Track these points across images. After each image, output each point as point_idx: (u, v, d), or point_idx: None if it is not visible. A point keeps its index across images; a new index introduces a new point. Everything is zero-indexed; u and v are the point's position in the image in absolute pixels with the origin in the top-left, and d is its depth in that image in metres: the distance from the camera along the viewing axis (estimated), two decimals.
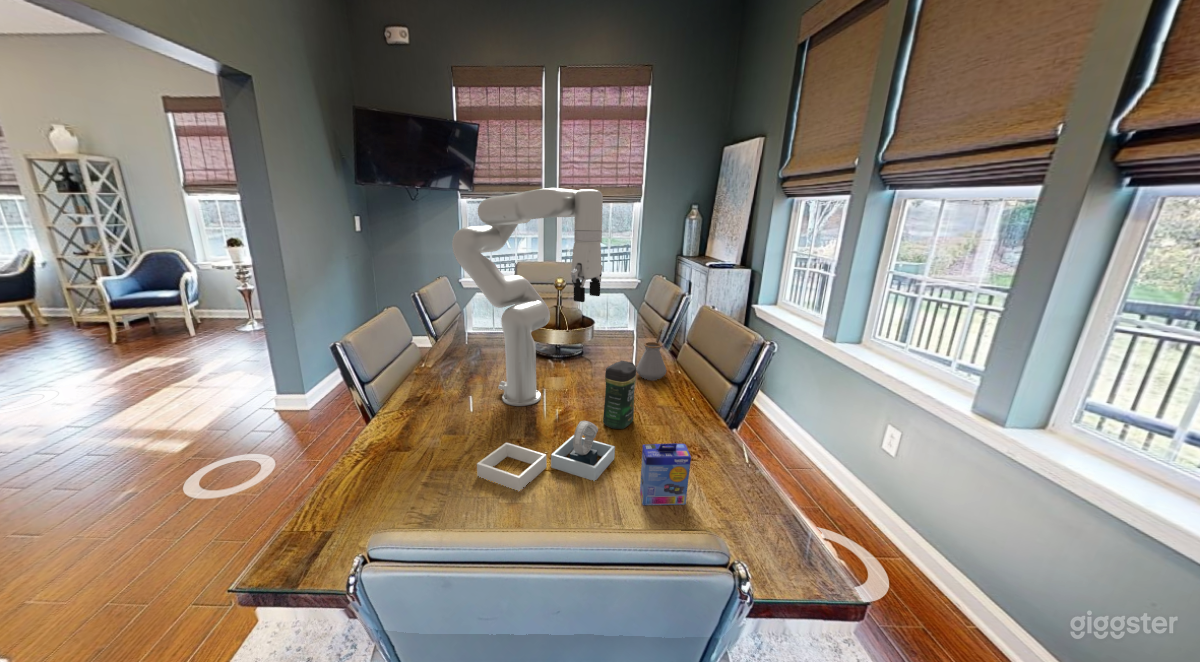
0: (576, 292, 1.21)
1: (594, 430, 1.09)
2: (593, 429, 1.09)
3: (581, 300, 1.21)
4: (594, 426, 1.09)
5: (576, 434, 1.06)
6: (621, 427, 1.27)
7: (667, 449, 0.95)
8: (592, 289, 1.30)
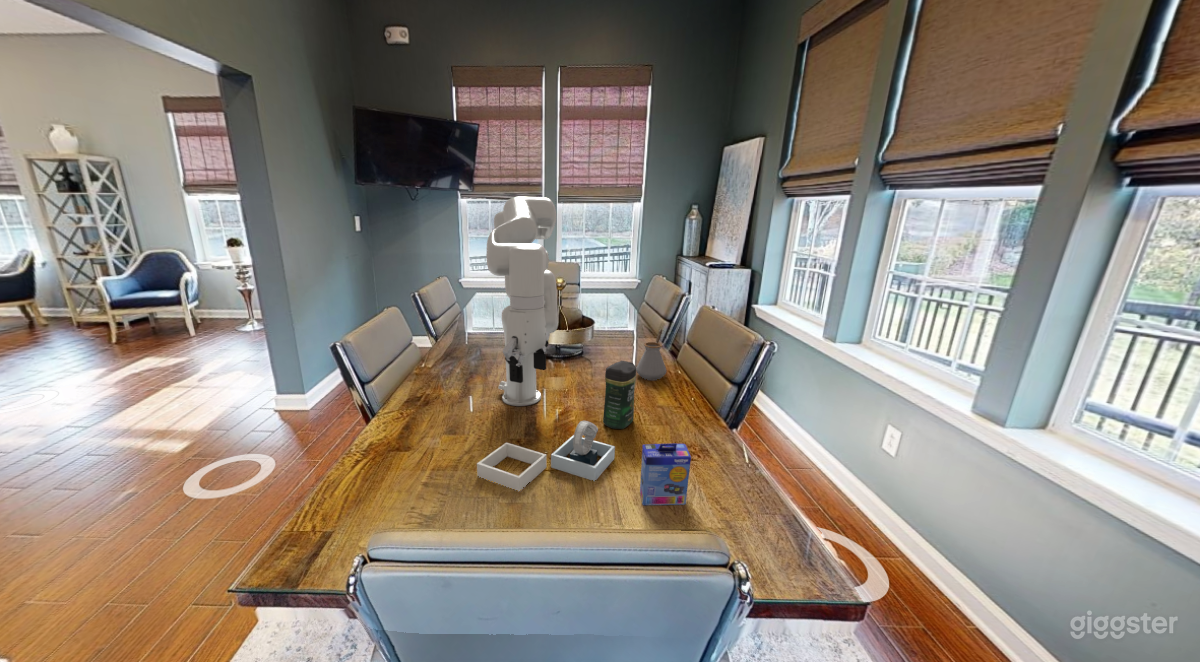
0: (512, 371, 0.98)
1: (594, 430, 1.09)
2: (593, 429, 1.09)
3: (518, 380, 0.98)
4: (594, 426, 1.09)
5: (576, 434, 1.06)
6: (621, 427, 1.27)
7: (667, 449, 0.95)
8: (536, 361, 1.07)
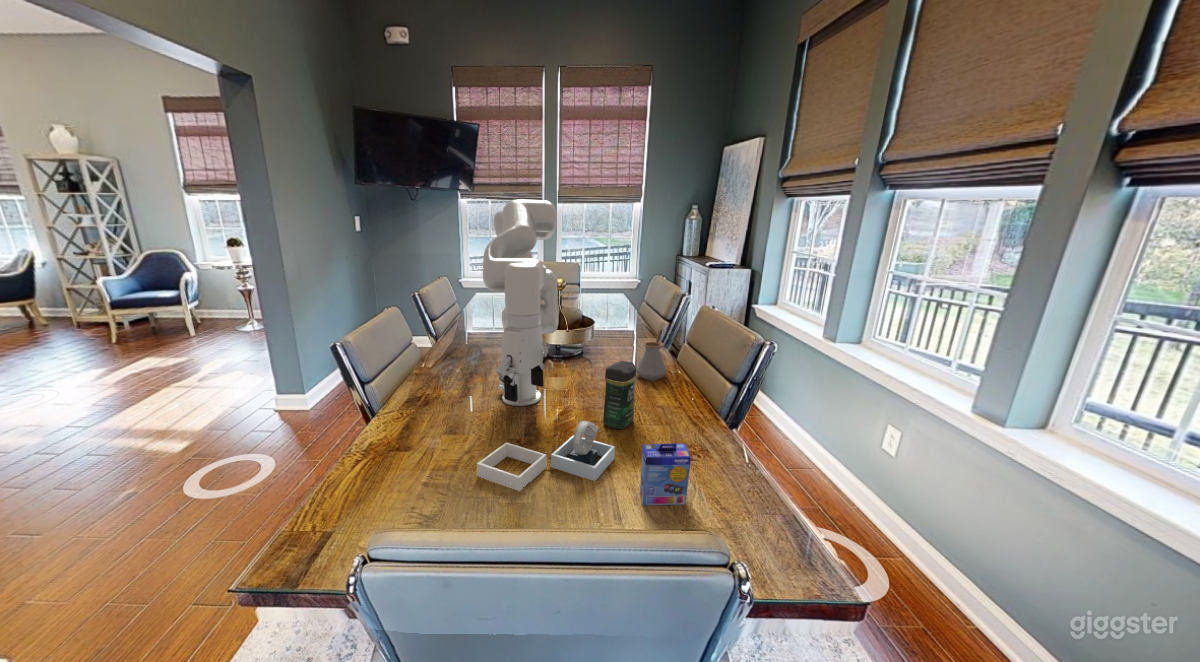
0: (506, 390, 0.96)
1: (594, 430, 1.09)
2: (593, 429, 1.09)
3: (513, 399, 0.97)
4: (594, 426, 1.09)
5: (576, 434, 1.06)
6: (621, 427, 1.27)
7: (667, 450, 0.95)
8: (534, 378, 1.05)
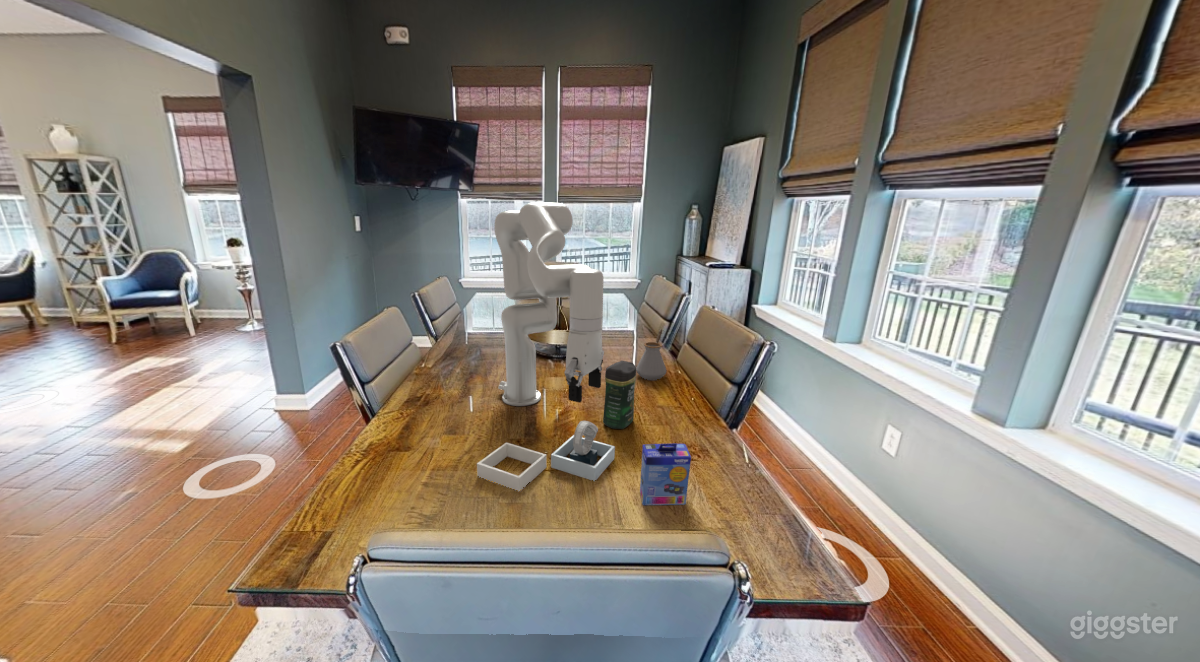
0: (571, 391, 1.00)
1: (594, 430, 1.09)
2: (593, 429, 1.09)
3: (577, 400, 1.01)
4: (594, 426, 1.09)
5: (576, 434, 1.06)
6: (621, 427, 1.27)
7: (667, 449, 0.95)
8: (591, 379, 1.09)
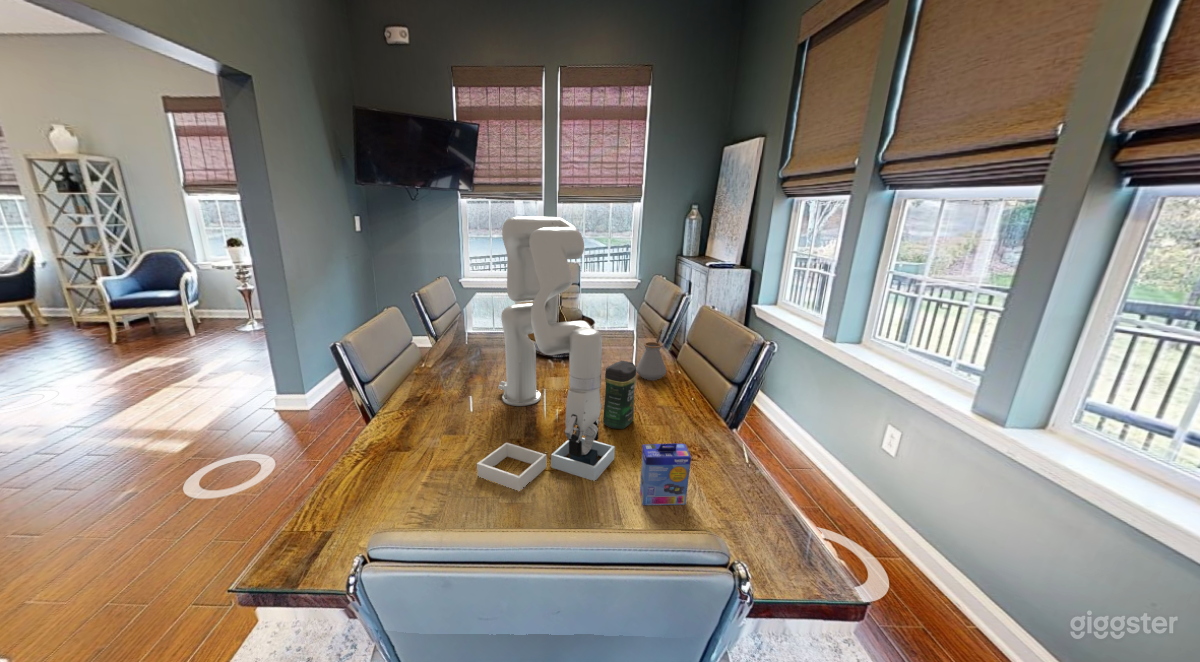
0: (572, 446, 1.04)
1: (594, 430, 1.09)
2: (593, 429, 1.09)
3: (577, 455, 1.05)
4: (594, 426, 1.09)
5: (576, 434, 1.06)
6: (621, 427, 1.27)
7: (667, 449, 0.95)
8: None
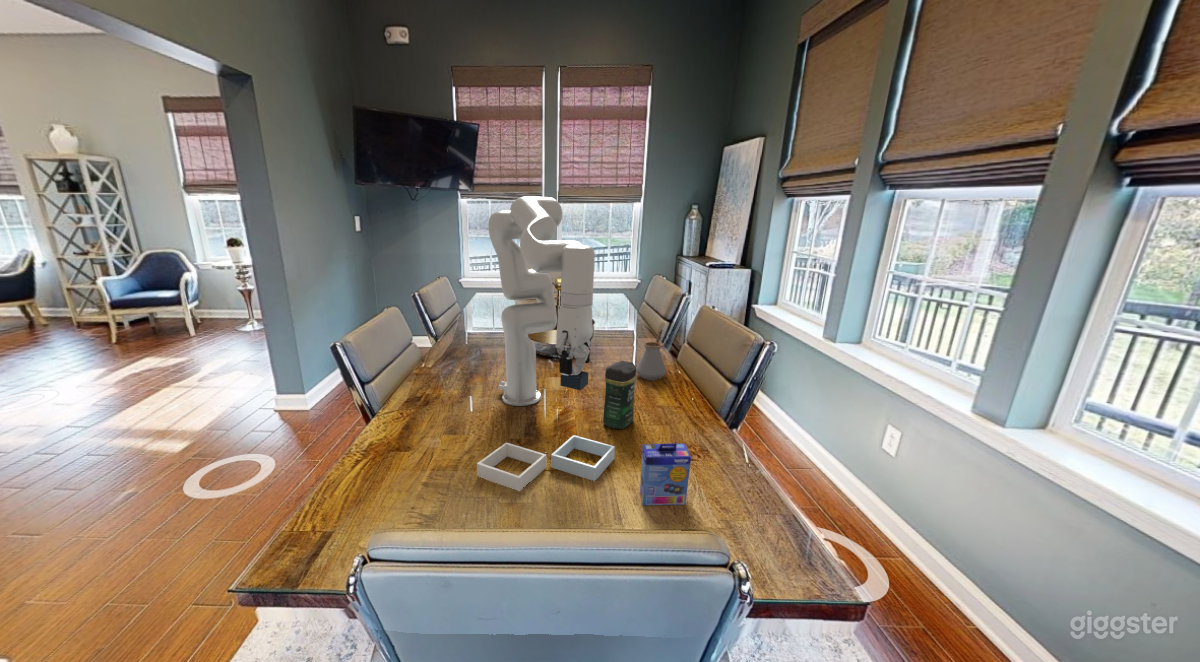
0: (562, 364, 1.04)
1: (585, 351, 1.09)
2: (584, 350, 1.09)
3: (568, 373, 1.05)
4: (585, 347, 1.09)
5: (567, 352, 1.05)
6: (621, 427, 1.27)
7: (667, 449, 0.95)
8: None
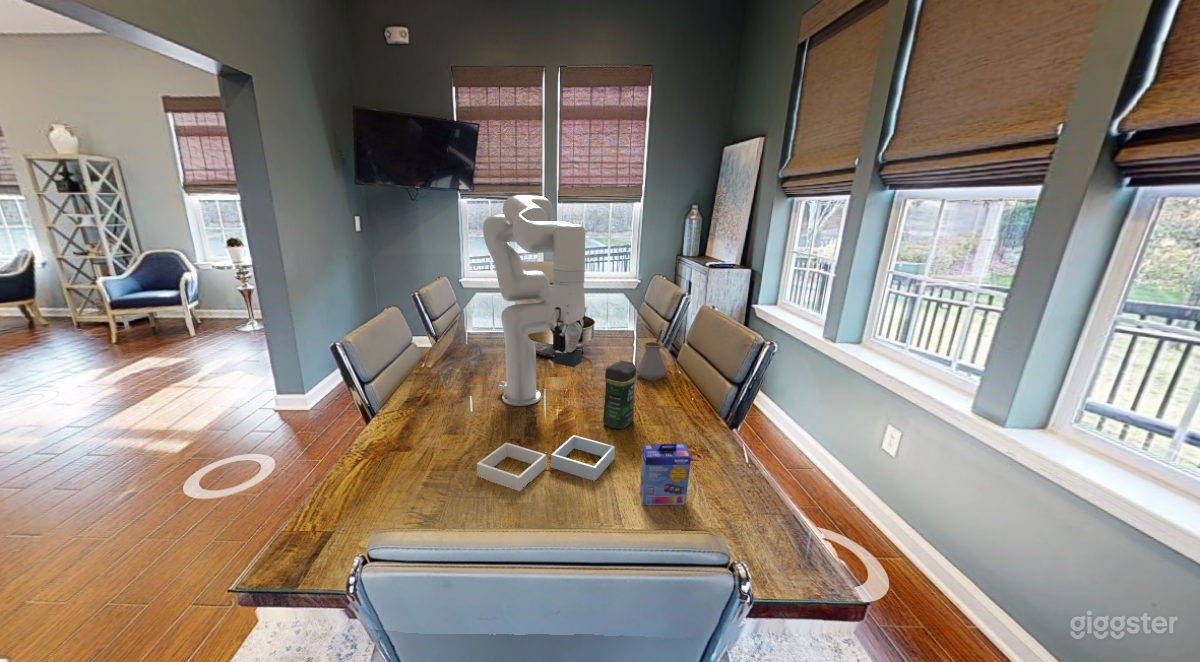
0: (555, 340, 1.07)
1: (578, 329, 1.11)
2: (577, 327, 1.11)
3: (561, 349, 1.08)
4: (578, 325, 1.11)
5: (560, 329, 1.08)
6: (621, 427, 1.27)
7: (667, 450, 0.95)
8: None
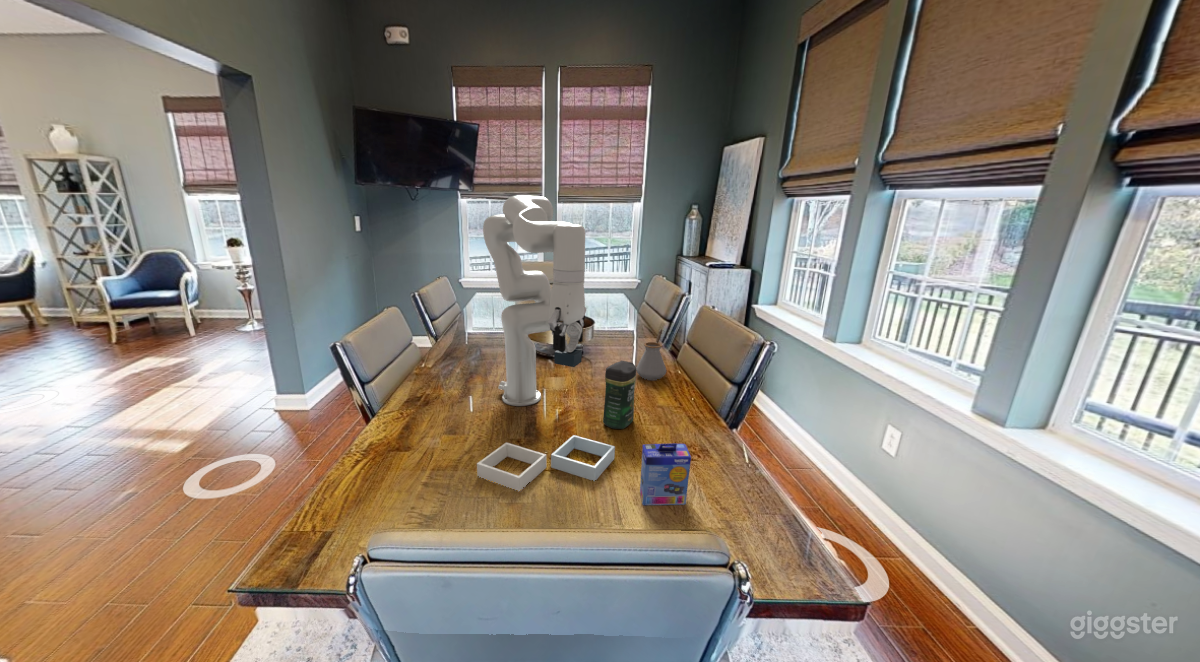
0: (555, 340, 1.07)
1: (578, 329, 1.11)
2: (577, 327, 1.11)
3: (561, 349, 1.08)
4: (578, 325, 1.11)
5: (560, 329, 1.08)
6: (621, 427, 1.27)
7: (667, 449, 0.95)
8: None
